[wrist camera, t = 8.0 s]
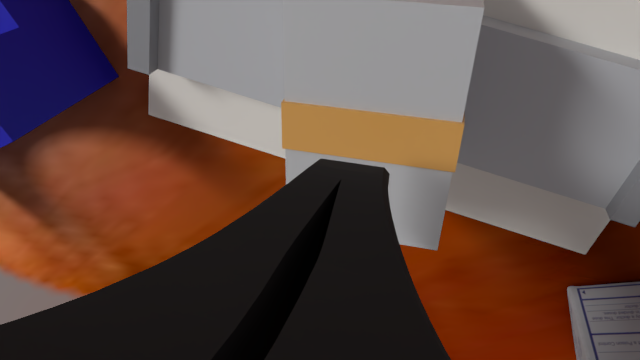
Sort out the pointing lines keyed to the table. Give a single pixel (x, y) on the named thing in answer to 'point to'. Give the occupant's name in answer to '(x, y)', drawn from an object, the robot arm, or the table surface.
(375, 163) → the block
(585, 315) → the medicine box
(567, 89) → the rail board
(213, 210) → the table surface
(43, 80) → the cable clip
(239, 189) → the table surface
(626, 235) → the table surface
